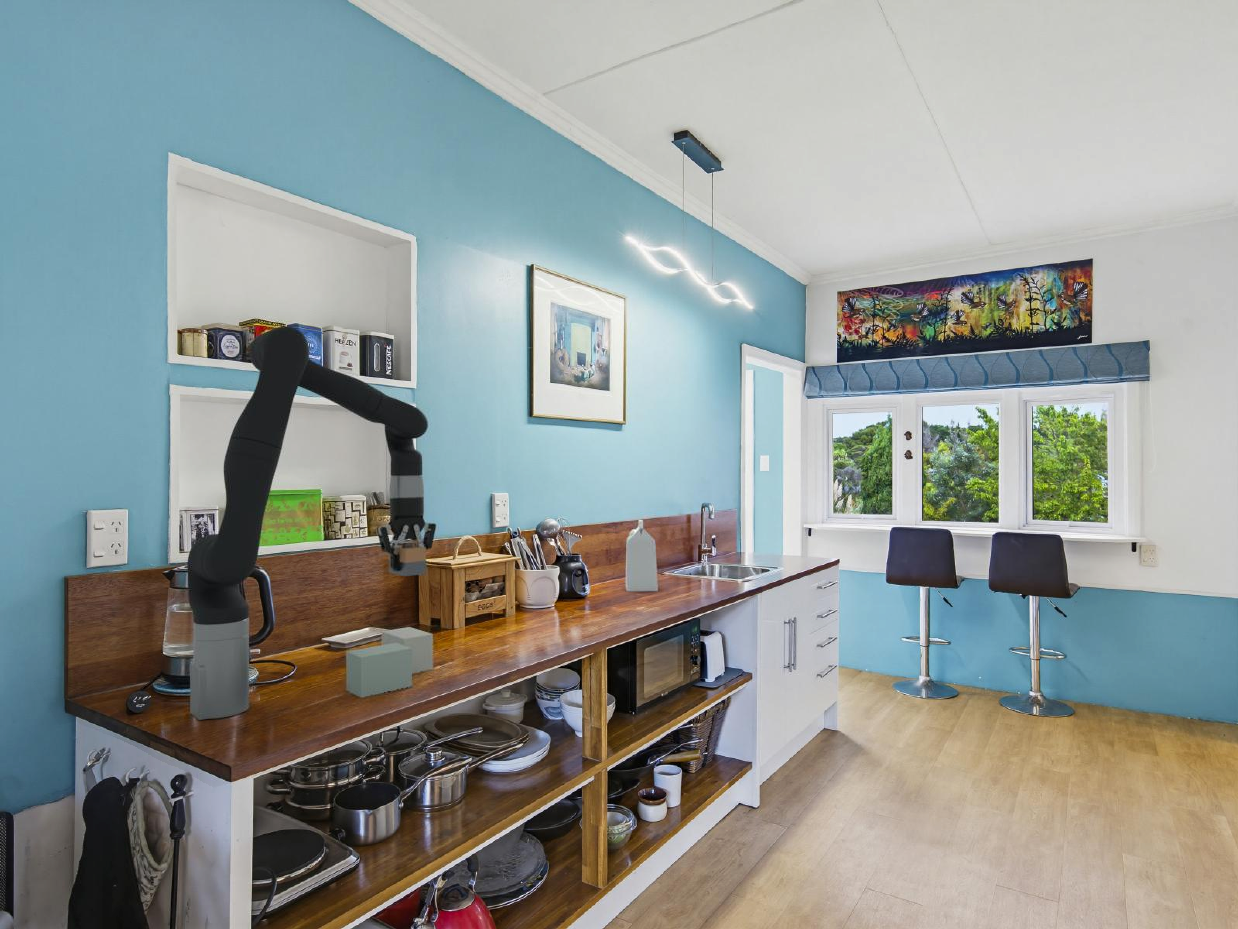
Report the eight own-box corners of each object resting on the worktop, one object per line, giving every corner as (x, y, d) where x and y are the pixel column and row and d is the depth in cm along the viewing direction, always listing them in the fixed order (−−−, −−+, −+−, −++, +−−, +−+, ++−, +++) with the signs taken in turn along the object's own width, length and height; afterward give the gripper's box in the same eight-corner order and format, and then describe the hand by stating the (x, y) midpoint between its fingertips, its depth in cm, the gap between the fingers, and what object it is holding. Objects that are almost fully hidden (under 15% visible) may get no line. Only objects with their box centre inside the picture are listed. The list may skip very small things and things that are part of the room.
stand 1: (361, 697, 147) (361, 657, 147) (346, 690, 152) (346, 651, 153) (412, 686, 155) (411, 648, 155) (396, 679, 160) (396, 642, 160)
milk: (657, 591, 277) (657, 521, 277) (627, 591, 276) (626, 521, 276) (654, 586, 289) (654, 519, 289) (625, 586, 288) (624, 519, 288)
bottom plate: (389, 572, 171) (389, 559, 171) (409, 570, 174) (409, 557, 174) (405, 576, 165) (405, 562, 165) (426, 573, 169) (426, 560, 169)
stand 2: (404, 675, 164) (404, 639, 164) (381, 666, 172) (381, 631, 172) (432, 669, 168) (432, 634, 168) (409, 660, 176) (409, 627, 176)
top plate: (389, 559, 171) (389, 542, 171) (409, 557, 174) (408, 540, 174) (405, 562, 165) (405, 544, 165) (426, 560, 169) (425, 543, 169)
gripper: (426, 494, 178) (427, 565, 178) (369, 496, 168) (370, 571, 168) (443, 494, 172) (443, 568, 172) (384, 496, 162) (385, 574, 162)
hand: (407, 569), depth 170 cm, fingers closed on bottom plate, top plate, 5 cm apart
